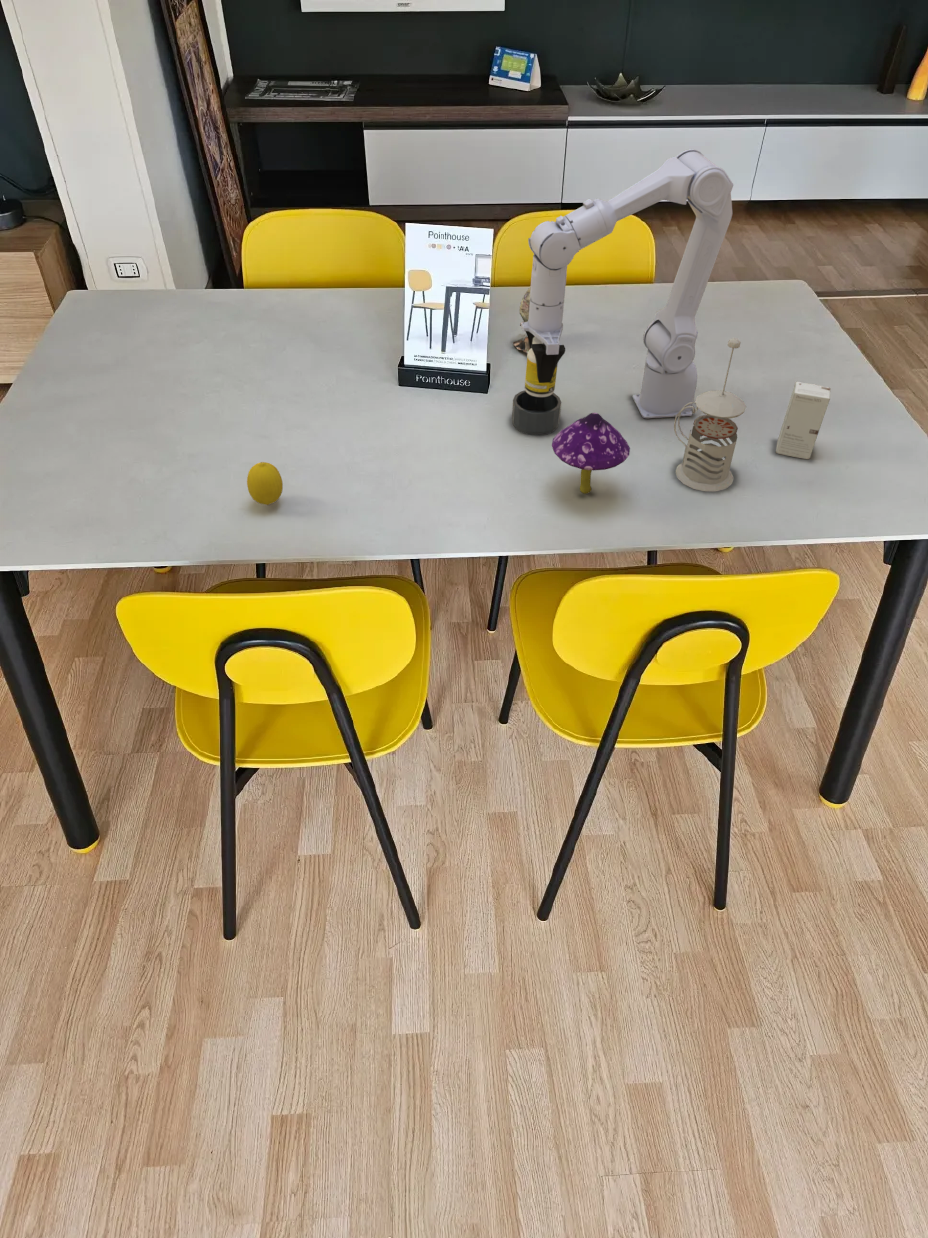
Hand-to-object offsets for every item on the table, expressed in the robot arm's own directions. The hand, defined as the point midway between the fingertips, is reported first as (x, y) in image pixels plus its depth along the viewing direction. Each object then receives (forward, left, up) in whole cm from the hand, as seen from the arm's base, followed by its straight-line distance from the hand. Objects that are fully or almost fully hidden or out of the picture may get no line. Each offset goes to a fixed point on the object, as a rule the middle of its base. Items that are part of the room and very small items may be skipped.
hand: (541, 373), depth 167 cm
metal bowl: (0, 0, -10) cm, 10 cm away
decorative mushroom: (-4, +23, -10) cm, 25 cm away
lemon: (+48, +20, -10) cm, 53 cm away
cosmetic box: (-44, +14, -10) cm, 47 cm away
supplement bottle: (0, 0, -4) cm, 4 cm away
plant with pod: (-5, -29, -10) cm, 31 cm away
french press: (-25, +19, -10) cm, 33 cm away
